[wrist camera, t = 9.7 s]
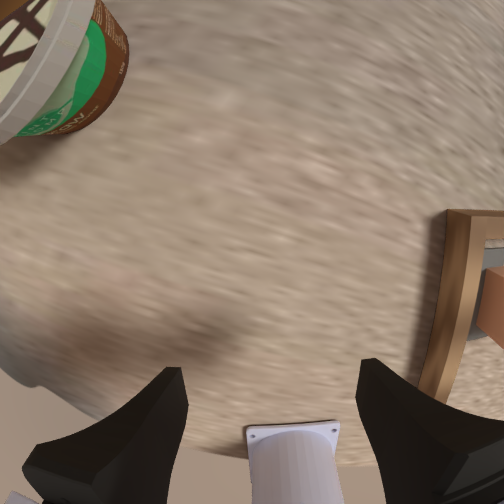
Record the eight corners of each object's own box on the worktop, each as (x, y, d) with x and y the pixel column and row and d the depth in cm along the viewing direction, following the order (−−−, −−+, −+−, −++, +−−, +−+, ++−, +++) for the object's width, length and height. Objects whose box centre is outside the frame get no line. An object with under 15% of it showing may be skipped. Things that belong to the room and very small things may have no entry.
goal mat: (515, 326, 22) (517, 328, 21) (456, 341, 22) (458, 342, 21) (532, 245, 19) (534, 246, 19) (473, 249, 20) (476, 250, 19)
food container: (32, 181, 19) (-69, 200, 9) (14, 113, 17) (-81, 106, 8) (174, 96, 18) (102, 42, 8) (145, 25, 16) (77, -51, 6)
